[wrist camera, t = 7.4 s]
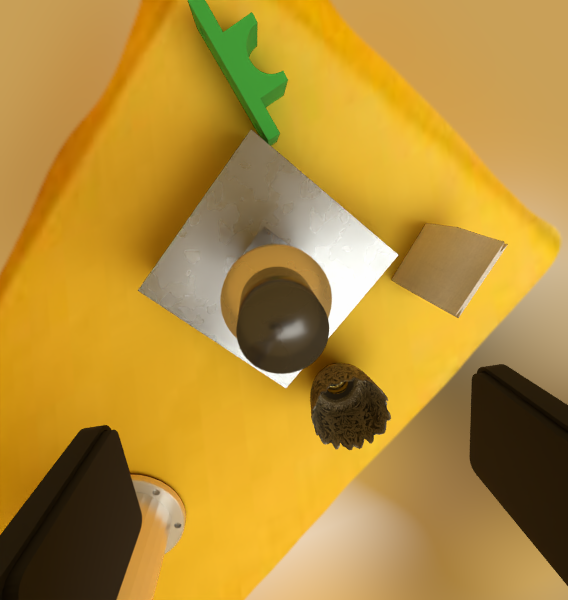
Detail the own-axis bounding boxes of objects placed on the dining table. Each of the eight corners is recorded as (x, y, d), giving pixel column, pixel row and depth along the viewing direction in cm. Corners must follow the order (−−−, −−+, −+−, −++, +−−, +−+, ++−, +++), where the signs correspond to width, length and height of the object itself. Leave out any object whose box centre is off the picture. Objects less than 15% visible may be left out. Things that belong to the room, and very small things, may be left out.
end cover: (279, 337, 29) (294, 418, 18) (210, 288, 27) (181, 346, 16) (333, 272, 27) (383, 317, 17) (263, 217, 26) (269, 228, 15)
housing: (281, 360, 39) (285, 388, 33) (156, 275, 35) (137, 290, 30) (375, 246, 36) (398, 255, 31) (251, 141, 33) (251, 129, 27)
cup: (296, 353, 39) (306, 390, 31) (360, 339, 39) (386, 373, 32) (307, 410, 41) (319, 458, 33) (368, 397, 41) (394, 442, 34)
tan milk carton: (391, 280, 38) (437, 307, 28) (425, 223, 36) (487, 231, 27) (418, 295, 38) (473, 326, 29) (453, 239, 37) (523, 253, 27)
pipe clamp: (300, 126, 33) (307, 115, 29) (266, 148, 33) (268, 141, 29) (233, 2, 30) (229, -32, 26) (196, 28, 30) (187, -1, 26)
